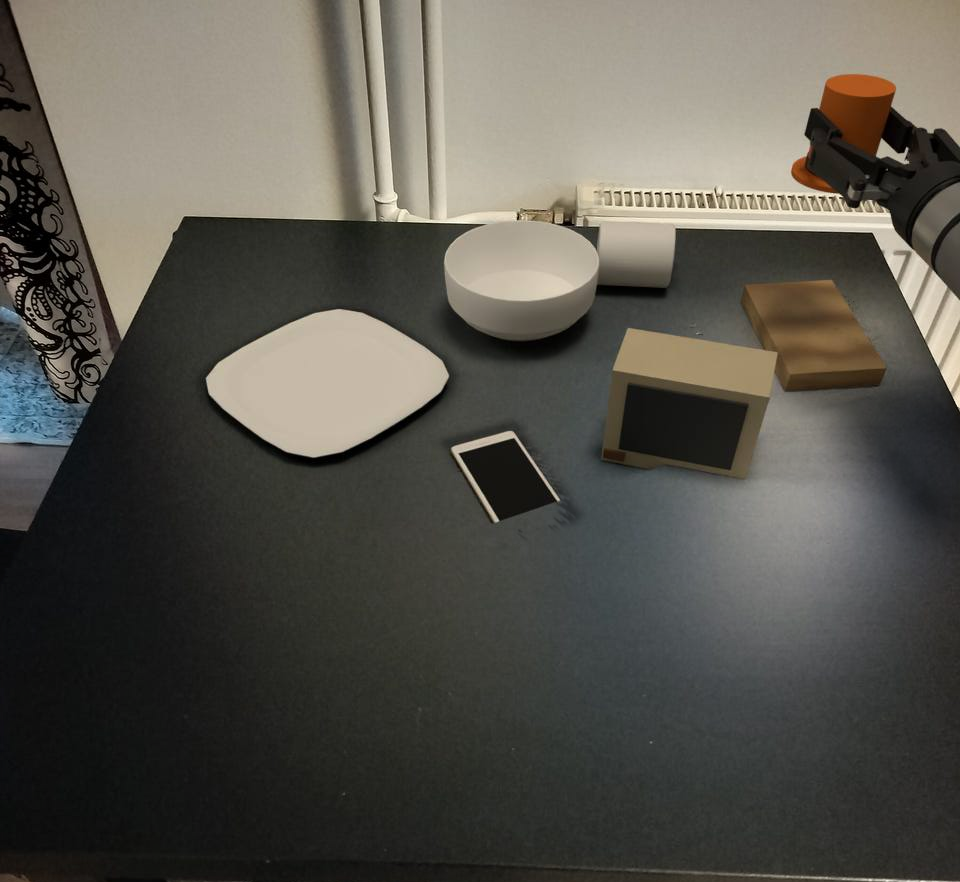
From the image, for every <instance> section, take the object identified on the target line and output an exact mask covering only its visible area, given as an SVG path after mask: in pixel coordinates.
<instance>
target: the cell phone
mask: <svg viewBox="0 0 960 882" xmlns="http://www.w3.org/2000/svg"><path fill="white" fill-rule="evenodd" d="M450 449H451V454H452V456H453V457H454V459H455V461H456V462H457V464H458V465H459V467H460V469H461V471H462V472H463V474H464V475H465V477H466V479H467V481H468V483H469V484H470V485H471V488H472V489H473V490H474V493H475V494H476V496H477V497H478V499H479V500H480V502H481V504H482V505H483V508H484V509H485V510H486V512H487V513H488V516H489V517H490V519H491V521H492V522H493V524H496V523H498V522H501V521H505V520H507V519H510V518H513V517H517V516H519V515H522V514H524V513H528V512H531V511H534V510H536V509H539V508H543V507H545V506H548V505H551V504H554V503H557V502H559V501H561V499H560V497H559V496H558V495H557V493H556V491H555V490H554V489H553V488H552V485H550V483H549V482H548V480H547V478H546V477H545V475H544V474H543V473H542V471H541V470H540V468H539V467H538V466H537V464H536V462H535V461H534V460H533V458H532V456H531V455H530V454H529V452H528V451H527V449H526V447H524V445H523V444H522V442H521V440H520V439H519V437H518V436H517V435H516V433H515V432H514V431H513V430H507V431H503V432H499V433H495V434H493V435H489V436H486V437H482V438H479V439H474V440H472V441H468V442H464V443H460V444H457V445H454V446H452V447H451V448H450Z"/></svg>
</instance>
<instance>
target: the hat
mask: <svg viewBox="0 0 960 882" xmlns="http://www.w3.org/2000/svg"><path fill="white" fill-rule="evenodd" d="M896 91H897V87H896V84H894V83H893V82H892V81H890V80H888V79H886V78H883V77H879V76H875V75H869V74H860V73H848V74H846V73H845V74H838V75H835V76H832V77H829V78H828V79H827V80H826V81H825V84H824V88H823V91H822V96H821V100H820V104H819V108H818V109H819V110H820V111H821V112H822V113H823V114H824V115H825V116H826V117H827V118H828V119H829V120H830V121H831V122H832V123H833V124H834V125H835V126H836V127H837V128H838V129H840V131H841V132H842V133H843V135H842V138H841V139H842V140H844V141H846V142H848V143H850V144H852V145H854V146H856V147H858V148H860V149H862V150H864V151H866V152H868V153H870V154H872V155H874V156H876V157H877V154H878V151H879V148H880V145H881V141H882V134H883V131H884V128H885V125H886V121H887V118H888V115H889V111H890V108H891V107H892V106H893V105H892V104H893V101H894V98H895V94H896ZM811 151H812V147H811V145H810V144H809V150H808V152H807V154H806V156H803V157H800V158H798V159H797V160H795V161H794V162H793V164H792V166H791V170H790V174H791V177H792V179H794V181H796V182H797V183H798V184H800V185H801V186H804V187H807V188H809V189H811V190H815V191H819V192H823V193H829V194H837V195H840V194H839V193H838V192H836V191H835V190H834V189H833V188H832V187H830V186H829V185H828V184H827V183H826V182H824V181H823V180H822V179H821V178H820V177H818V176H817V175H816V174H815V173H814V172H812V171H811V170H810V169H809V168H808V167H807V166H808V162H809V158H810V155H811Z"/></svg>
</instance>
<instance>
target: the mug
mask: <svg viewBox="0 0 960 882" xmlns="http://www.w3.org/2000/svg"><path fill="white" fill-rule="evenodd" d="M676 230H677V229H676V225H675V224H674V223H661V222H659V223H658V222H640V221H612V220H611V221H607V220H600V222H599V226H598V235H597V244H596V251H597V254H598V256H599V272H598V280H597V286H613V287H614V286H617V287H637V288H638V287H639V288H640V287H641V288H642V287H643V288H658V289H659V288H661V289H666V288H668V287H669V285H670V282H671V279H672V275H673V274H672V273H673V267H674V260H675V251H676V236H677V231H676Z"/></svg>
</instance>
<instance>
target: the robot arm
mask: <svg viewBox="0 0 960 882" xmlns="http://www.w3.org/2000/svg"><path fill="white" fill-rule="evenodd" d="M803 135H804V137H806V139H807V140H808V141H809V146H810V145H811V147H812V151H811V155H810V158H809V162H808V166H807V167H808V168H809V169H810V170H811V171H812V172H814V173H815V174H816V175H817V176H818V177H820V178H821V179H822V180H823V181H824V182H826V183H827V184H828V185H829V186H830V187H832V188H833V189H834V190H835V191H836V192H838V193H839V194H838V195H840V196H841V197H842V198H843V200H844V202H845V204H846V206H847V207H848V208H850V209H858V208H859V207H860V206H861V203H862V202H863V201H875V203H876V204H877V205H878V206H879V207H881V208H884V209H886V210H888V211H889V215H890V219H891V223H892V227H893V229H894V231H895V233H896V234H897V235H898V237H900V238H901V239H902V240H903V241H904V243H906V245H907V246H908V247H909V248H910V249H911V250H913V251H914V252H915V253H916V255H917V256H918V257H920V259H922V261H923V262H924V263H925V264H926V265H927V266H928V267H929V268H930V269H931V270H932V271H933V272H934V273H935V274H936V276H937V277H938V278H939V279H940V280H941V281H942V283H944V284H945V286H946V287H947V288H948V289H949V290H950V291H951V293H953V294H954V296H955V297H956V298H957V300H959V301H960V145H959V144H958V142H956V141H955V139H954V138H953V137H952V136H951V135H950V133H949V132H947V131H946V129H944V128H942V127H940V128H939V127H938V128H934V130H933V132H928V130H927V129H926V128H925V127H923V126H922V127H917V126H916V125H915V124H913V122H911V121H910V120H908V119H906V118H905V117H904V116H903V115H902V114H900V113H899V112H898V111H897V110H896V109H895V108H894V107H893V106H891V108H890V111H889V115H888V118H887V121H886V125H885V128H884V131H883V134H882V138H881V140H882V141H884V142H885V143H886V144H887V145H888V146H889V147H890V148H891V149H892V150H893V151H894V152H895V153H896V154H897V155H901V154H905V152H906V150H907V152H906V154H905V157H904V161H903V162H906V161H907V163H903V162H901V161H899V160H896V159H895V158H893V157H891V156H883V157H878V156H877V155H876V156H874V155H872V154H870V153H868V152H866V151H864V150H862V149H860V148H858V147H856V146H854V145H852V144H850V143H848V142H846V141H844V140H842V139H841V138H842V135H843V133H842V132H841V131H840V129H838V128H837V127H836V126H835V125H834V124H833V123H832V122H831V121H830V120H829V119H828V118H827V117H826V116H825V115H824V114H823V113H822V112H821V111H820V110H819V108H818V107H812V108H810V111H809V115H808V118H807V123H806V126H805V130H804V134H803Z"/></svg>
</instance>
